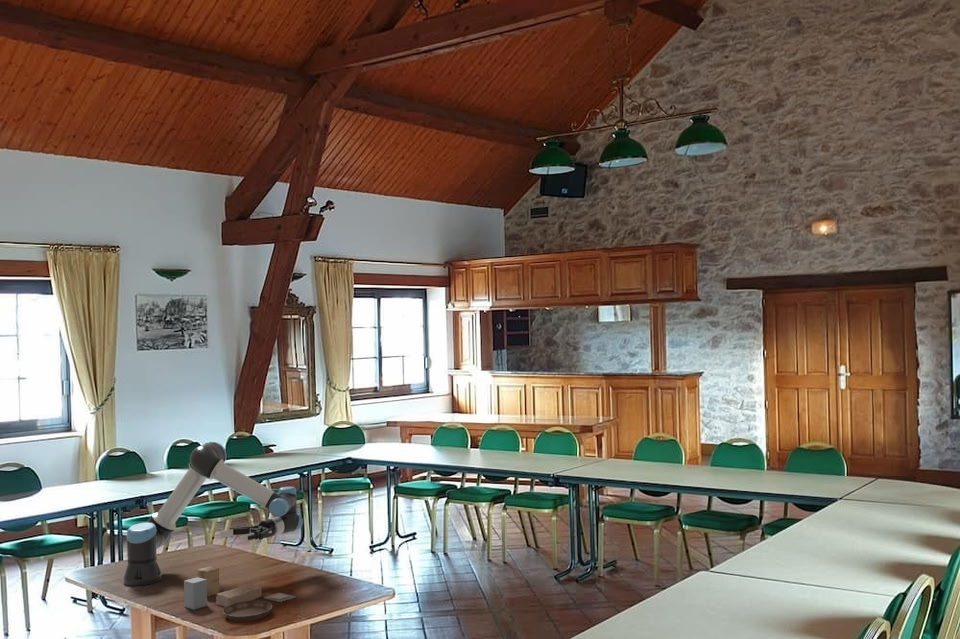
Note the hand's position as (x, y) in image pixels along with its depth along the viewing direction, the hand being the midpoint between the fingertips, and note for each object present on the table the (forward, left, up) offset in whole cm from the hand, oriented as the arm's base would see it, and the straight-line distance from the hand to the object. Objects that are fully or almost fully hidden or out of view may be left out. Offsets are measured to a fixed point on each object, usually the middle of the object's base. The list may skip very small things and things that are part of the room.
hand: (229, 537), depth 375 cm
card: (+29, +1, -20) cm, 35 cm away
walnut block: (0, -11, -20) cm, 23 cm away
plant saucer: (+36, -20, -21) cm, 46 cm away
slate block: (+10, -24, -20) cm, 33 cm away
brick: (+18, -10, -21) cm, 29 cm away
